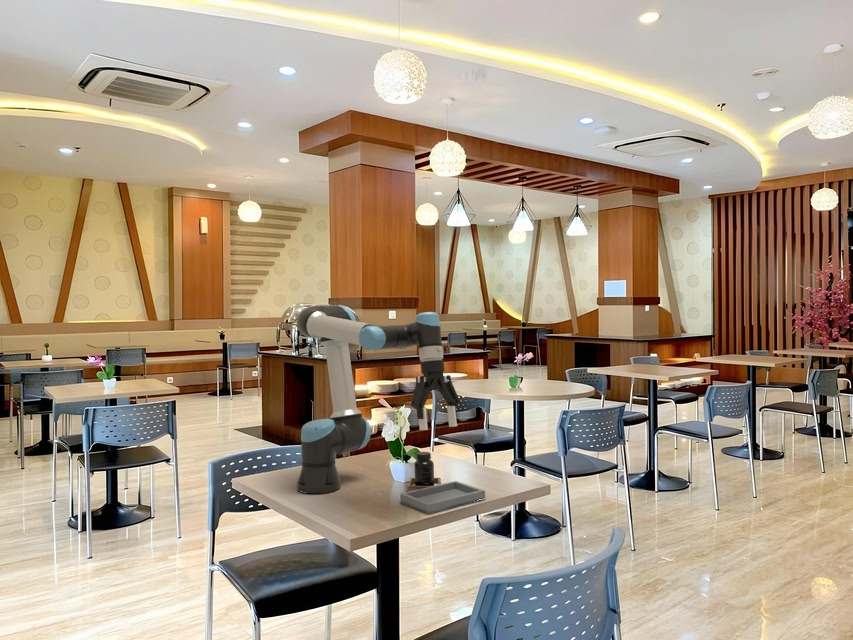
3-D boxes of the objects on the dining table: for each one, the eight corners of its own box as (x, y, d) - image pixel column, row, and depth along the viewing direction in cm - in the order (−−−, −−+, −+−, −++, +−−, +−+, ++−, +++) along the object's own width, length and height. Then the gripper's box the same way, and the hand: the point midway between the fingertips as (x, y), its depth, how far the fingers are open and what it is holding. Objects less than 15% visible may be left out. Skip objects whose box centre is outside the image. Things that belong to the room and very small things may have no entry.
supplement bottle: (413, 485, 219) (412, 451, 219) (431, 483, 220) (431, 450, 220) (416, 490, 212) (416, 455, 212) (436, 489, 214) (435, 454, 213)
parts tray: (400, 502, 199) (400, 493, 199) (455, 489, 213) (455, 480, 213) (428, 514, 187) (428, 504, 187) (485, 499, 201) (485, 490, 201)
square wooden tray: (410, 482, 222) (410, 477, 222) (440, 482, 221) (440, 477, 221) (407, 491, 211) (407, 486, 211) (439, 491, 210) (439, 486, 210)
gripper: (412, 358, 185) (419, 430, 182) (466, 359, 203) (473, 424, 200) (395, 362, 190) (401, 432, 187) (449, 362, 208) (455, 426, 205)
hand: (438, 428), depth 193 cm, fingers open, 13 cm apart
